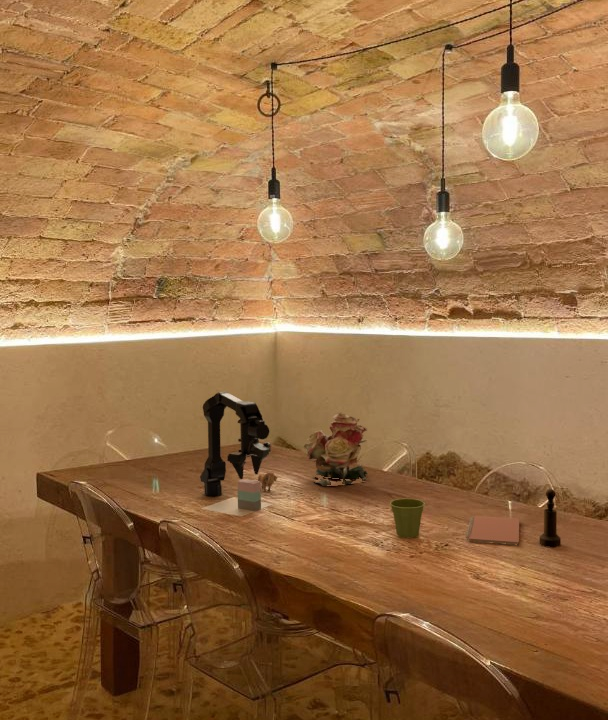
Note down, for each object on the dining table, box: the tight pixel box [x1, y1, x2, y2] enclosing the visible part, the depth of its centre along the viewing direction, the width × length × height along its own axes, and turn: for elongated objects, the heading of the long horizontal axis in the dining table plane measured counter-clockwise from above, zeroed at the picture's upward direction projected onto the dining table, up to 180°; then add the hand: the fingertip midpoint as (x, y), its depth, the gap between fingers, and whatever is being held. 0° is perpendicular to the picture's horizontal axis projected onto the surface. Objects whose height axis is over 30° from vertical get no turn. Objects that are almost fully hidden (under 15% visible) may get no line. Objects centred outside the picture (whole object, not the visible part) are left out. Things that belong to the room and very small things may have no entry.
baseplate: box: [200, 496, 273, 517], centre depth 293 cm, size 20×20×4 cm
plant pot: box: [389, 497, 426, 539], centre depth 256 cm, size 12×12×11 cm
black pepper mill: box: [539, 488, 561, 548], centre depth 245 cm, size 7×6×18 cm
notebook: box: [465, 515, 520, 545], centre depth 260 cm, size 27×17×2 cm, turn 164°
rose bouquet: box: [303, 412, 369, 487], centre depth 335 cm, size 26×29×30 cm
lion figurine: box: [257, 471, 279, 493], centre depth 319 cm, size 15×5×9 cm, turn 34°
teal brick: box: [237, 489, 262, 502], centre depth 290 cm, size 8×4×4 cm, turn 56°
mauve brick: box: [237, 478, 262, 493], centre depth 289 cm, size 8×4×4 cm, turn 56°
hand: (248, 476), depth 289 cm, fingers open, 9 cm apart
